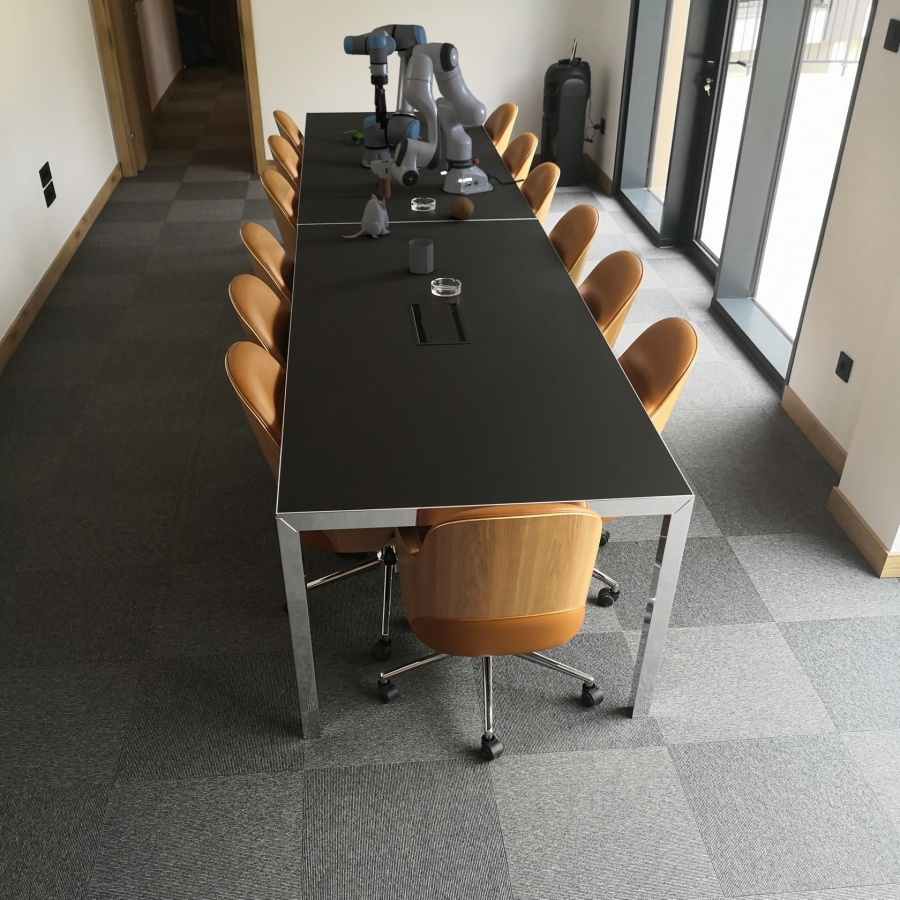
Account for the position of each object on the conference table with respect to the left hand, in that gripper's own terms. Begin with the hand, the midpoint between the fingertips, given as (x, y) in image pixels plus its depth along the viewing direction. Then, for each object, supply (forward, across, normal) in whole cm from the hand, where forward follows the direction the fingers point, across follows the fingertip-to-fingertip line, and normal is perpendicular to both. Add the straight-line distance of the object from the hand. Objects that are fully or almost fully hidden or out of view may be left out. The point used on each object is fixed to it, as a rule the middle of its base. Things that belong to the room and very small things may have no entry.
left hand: (381, 125), depth 385 cm
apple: (+26, -98, +60) cm, 118 cm away
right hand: (+8, +30, -1) cm, 31 cm away
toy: (+26, +72, -18) cm, 79 cm away
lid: (+25, 0, 0) cm, 25 cm away
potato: (+26, +56, +24) cm, 66 cm away
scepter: (+26, -80, +5) cm, 84 cm away
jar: (+26, +19, -2) cm, 32 cm away
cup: (+26, +110, -3) cm, 113 cm away
